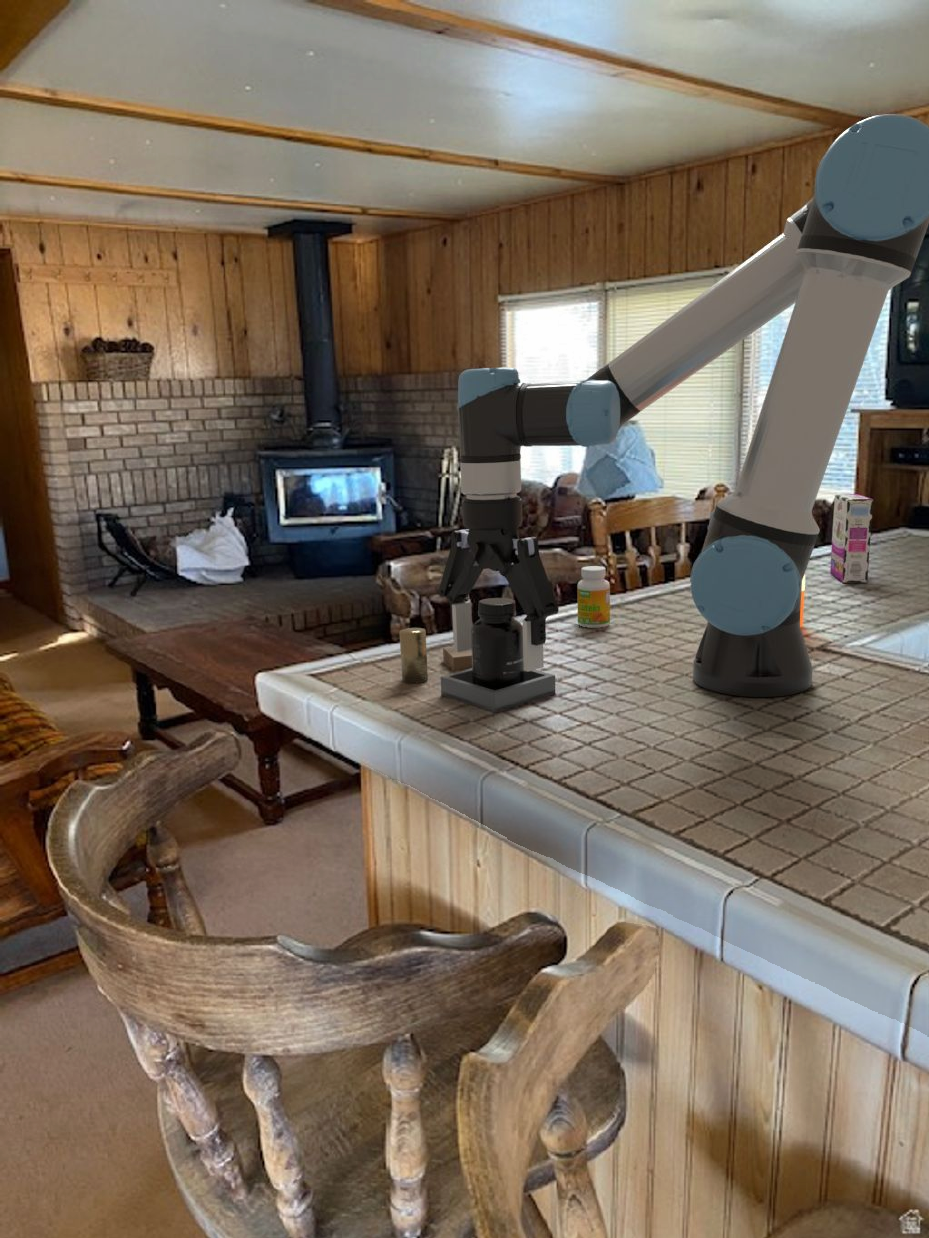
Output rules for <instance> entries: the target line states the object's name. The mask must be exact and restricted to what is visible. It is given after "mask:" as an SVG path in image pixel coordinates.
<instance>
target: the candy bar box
mask: <svg viewBox="0 0 929 1238" xmlns="http://www.w3.org/2000/svg"><path fill="white" fill-rule="evenodd" d="M833 504H834V505H833V517H832V518H833V519H832V536H831V537H832V538H831V549H830V550H831V552H830V567H829V568H830V569H829V570H830V572H829V574H830V575H832V577H834V578H836V579H837V580H838V581H840V582H841V583H843V584H867V583H868V581H869V580H868V579H869V565H870V564H869V563H870V551H871V538H872V537H871V536H872V524H873V523H872V521H873V509H874V499H873V498H870V497H867V496H864V495H861V494H858V493H857V494H855V493H845V494H844V493H842V494H841V493H840V494H839V493H838V494H837V493H836V494H834V501H833Z"/></svg>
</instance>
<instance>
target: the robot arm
mask: <svg viewBox="0 0 929 1238" xmlns="http://www.w3.org/2000/svg"><path fill="white" fill-rule="evenodd" d="M814 184H815V185H814V194H813V196H812V198H811V199H810V200H808V201H807V203H806V204H805V205H803V206H802V207H801V208H800V209H799V210H797V211H796V212H795V213H793V214H792V215H791V216H790V217H788V218H787V219H786V222H785V225H784V230H783V232H782V233H781V234H780V235H779V236H777V237H775V239H773V240H772V241H771V242H769V243H768V244H767V245H765V246H764V247H763V248H761V249H760V250H758V251H757V252H756V253H754V254H753V255H751V256H750V257H749V258H748V259H747V260H745V261H743V262H742V263H741V264H740V265H737V267H735V268H734V269H732V270H731V271H730V272H729V273H727V274H726V275H725V276H724V277H722V278H721V279H720V280H718V281H717V282H716V283H714V284H713V285H711V286H710V287H709V288H707V289H706V290H705V291H703V292H702V293H701V294H699V295H698V296H697V297H695V298H694V299H693V300H692V301H690V302H689V303H688V304H686V305H685V306H683V307H682V308H680V309H679V310H678V311H677V312H675V313H674V314H673V315H671V316H669V317H668V318H667V319H666V320H664V322H661V324H659V325H658V326H657V327H655V328H653V329H652V330H650V332H649V333H647V334H646V335H645V336H643V337H641V338H640V339H639V340H637V341H636V342H635V343H634V344H632V345H631V346H629V347H628V348H627V349H626V350H624V351H623V352H621V353H620V354H619V355H618V356H616V357H615V358H614V359H612V360H610V361H609V362H608V363H607V364H606V365H604V366H603V367H601V368H600V369H598V370H597V371H596V372H594V373H593V374H592V375H591V376H589V377H588V378H587V379H582V380H569V381H554V382H553V381H551V382H540V383H531V382H530V383H529V382H528V383H525V382H521V379H520V377H519V371H518V370H517V368H515V367H491V368H490V367H486V368H484V367H482V368H470V369H465V370H464V371H463V372H461V373H460V374H459V377H458V380H457V381H458V384H457V385H458V387H457V389H458V390H457V392H458V393H457V406H456V409H457V410H456V411H457V416H458V417H457V418H458V419H457V420H458V430H459V431H458V433H459V435H458V436H459V449H460V453H459V454H460V458H459V459H460V461H459V462H460V465H459V466H460V492H461V494H463V495H465V496H466V497H465V498H464V497H463V500H461V509H462V511H461V513H462V525H463V527H464V529H459V530H454V531H452V532H451V538H450V539H451V540H450V549H449V553H448V556H447V560H446V563H445V567H444V570H443V574H442V577H441V580H440V585H439V588H438V590H437V591H438V596H440V598H441V597H442V598H443V597H444V598H446V599H447V602H448V603H449V606H450V608H449V610H450V612H449V613H450V623H451V626H452V636H453V646H454V652H457V653H458V652H462V651H466V650H470V649H472V647H471V629H472V626H473V622H472V621H473V619H472V616H473V615H472V602H471V601H468V600H470V599H471V598H470V596H469V595H470V593H471V592H472V590H473V588H474V586H475V585H476V583H477V581H478V579H479V578H480V576H481V575H482V573H483V571H484V570H486V569H489V570H490V571H494V572H498V573H499V574H500V575H501V576H502V577H504V578H505V579H506V582H507V583H508V585H509V586H510V588H511V590H512V592H513V594H514V596H515V597H516V599H517V600H518V603H519V604H520V606H521V608H522V610H523V612H524V613H525V615H526V616H525V617H524V618H523V619H522V626H523V657H524V671H527V672H529V671H532V670H538V669H539V670H540V669H542V668H544V667H545V666H544V644H546V641H547V636H546V634H547V633H546V632H547V631H546V630H547V626H546V620H547V619H548V617H550V616H553V615H557V614H558V613H559V611H560V609H559V606H558V604H557V600H556V598H555V595H554V592H553V589H552V587H551V584H550V583H551V582H550V580H549V578H548V575H547V571H546V569H545V567H544V564H543V562H542V559H541V556H540V555H541V554H540V549H539V541H538V537H536V536H530V537H525V538H520V536H519V533H518V530H519V527H520V526H521V525H522V523H523V499H522V498H521V496H519V495H517V494H518V493H520V492H521V491H522V467H521V464H522V463H521V459H522V458H521V457H522V455H521V447H568V446H569V447H572V446H573V447H579V446H581V447H585V448H588V447H594V446H600V445H609V444H612V443H613V442H614V441H615V440H616V439H617V436H618V433H619V431H620V430H621V428H622V426H623V425H624V424H626V423H627V422H629V421H630V420H631V419H633V418H634V417H635V416H637V415H638V414H639V413H641V412H642V411H643V410H645V409H646V408H648V407H649V406H651V405H652V404H653V403H655V402H656V401H657V400H660V398H662V397H663V396H664V395H666V394H668V393H670V392H671V391H672V390H673V389H675V388H676V387H678V386H679V385H680V384H682V383H683V382H685V381H686V380H688V379H689V378H690V377H692V376H693V375H694V374H696V373H698V372H699V371H700V370H702V369H704V368H706V366H707V365H709V364H710V363H712V362H713V361H715V360H716V359H717V358H719V357H720V356H722V355H723V354H724V353H726V352H727V351H729V350H730V349H732V348H733V347H735V346H736V345H737V344H739V343H740V342H741V341H744V340H745V339H746V338H747V337H748V336H749V337H750V335H752V334H753V333H755V332H757V330H759V329H760V328H762V327H764V326H765V325H766V324H768V323H769V322H771V320H773V319H774V318H776V317H778V316H779V315H780V314H781V313H783V312H784V311H786V310H788V309H789V308H790V307H791V306H793V305H794V306H793V310H792V313H791V316H790V319H789V321H788V324H787V328H786V331H785V334H784V337H783V341H782V344H781V347H780V350H779V353H778V356H777V359H776V363H775V365H774V369H773V371H772V375H771V378H770V381H769V385H768V387H767V390H766V394H765V397H764V400H763V403H762V406H761V409H760V412H759V415H758V419H757V421H756V424H755V428H754V431H753V434H752V437H751V440H750V443H749V446H748V449H747V453H746V455H745V459H744V462H743V465H742V467H741V472H740V474H739V477H738V481H737V485H736V487H735V489H734V491H733V492H732V493H730V494H728V495H726V496H725V497H722V498H721V499H719V500H718V501H717V502H716V505H715V508H714V509H713V510H712V511H711V513H710V516H709V524H707V533H706V536H705V539H704V543H703V546H702V549H701V552H700V554H698V557H697V558H696V559H695V561H694V562H693V565H692V567H691V571H690V579H689V582H690V591H691V597H692V600H693V603H694V605H695V608H697V610H698V613H700V615H701V616H702V617H703V618H704V619H705V620H706V621H707V622H706V626H705V629H704V632H703V634H702V636H701V640H700V642H699V645H698V648H697V651H696V654H695V657H694V660H693V663H692V680H693V682H694V683H695V684H696V685H699V686H700V687H702V688H704V689H706V690H708V691H712V692H716V693H720V694H725V695H731V696H737V697H738V696H740V697H750V698H751V697H752V698H775V697H784V696H790V695H795V694H798V693H802V692H804V691H806V690H808V689H810V688H811V687H812V684H813V665H812V662H811V658H810V655H809V651H808V648H807V644H806V641H805V638H804V634H803V631H802V627H800V614H801V593H802V580H803V577H804V574H805V575H806V570H807V568H808V565H809V562H810V560H811V557H812V553H813V551H814V548H815V544H816V542H817V540H818V536H819V534H820V527H819V526H818V524H817V521H816V520H815V518H814V516H813V513H812V512H813V511H812V510H813V508H814V505H815V501H816V499H817V496H818V493H819V492H820V487H821V485H822V482H823V479H824V477H825V474H826V470H827V469H828V468H827V467H828V465H829V462H830V460H831V456H832V454H833V450H834V449H835V446H836V442H837V440H838V437H839V434H840V430H841V429H842V425H843V422H844V420H845V416H846V414H847V411H848V407H849V405H850V402H851V398H852V397H853V394H854V390H855V389H856V385H857V381H858V379H859V376H860V374H861V372H862V371H861V370H862V368H863V365H864V362H865V358H866V356H867V353H868V351H869V348H870V345H871V342H872V339H873V336H874V333H875V330H876V328H877V324H878V322H879V319H880V316H881V313H882V310H883V308H884V304H885V302H886V298H887V297H888V296H887V295H888V294H889V293H888V292H889V291H890V290H891V289H893V288H894V287H895V286H897V285H898V284H900V283H902V282H903V281H906V280H907V279H909V278H910V276H911V274H912V273H913V272H912V271H913V268H914V266H915V263H916V261H917V257H918V255H919V252H920V249H921V246H922V244H923V242H924V238H925V235H926V233H927V229H928V227H929V126H928V125H927V124H926V123H924V122H922V121H920V120H919V119H917V118H914V117H912V116H908V115H905V114H899V113H897V114H896V113H886V114H878V115H874V116H871V117H867V118H865V119H863V120H861V121H858V122H856V123H855V124H853V125H852V126H850V127H849V128H847V129H846V130H845V131H843V132H842V133H841V134H840V135H839V136H838V137H837V138H836V139H835V140H834V141H833V142H832V144H831V145H830V147H828V148H827V151H826V153H825V154H824V155H823V157H822V158H821V159H820V162H819V165H818V167H817V170H816V173H815V180H814Z"/></svg>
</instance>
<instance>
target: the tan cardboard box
mask: <svg viewBox="0 0 929 1238" xmlns="http://www.w3.org/2000/svg"><path fill="white" fill-rule="evenodd" d="M442 657H443V663H445V664H446V666H448V667H449V668H450V669H451V670H452V672H459V671H463V670H467V669H470V668H472V649H470V650H466V651H462V652H458V653H457V652H454V645H451V646H445V647H442Z"/></svg>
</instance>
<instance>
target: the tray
mask: <svg viewBox="0 0 929 1238" xmlns="http://www.w3.org/2000/svg"><path fill="white" fill-rule="evenodd" d="M440 690H441V691H440V693H441V696H444V697H447V698H450V699H453V700H455V701H457V702H458V701H459V702H462V703H464V704H465V703H466V704H468V705H471V706H474V707H477V708H480V709H482V710H486V711H489V712H492V713H498V712H502V711H505V710H508V709H511V708H514V707H518V706H521V705H523V704H527V703H530V702H533V701H536V700H540V699H542V698H545V697H549V696H551V695H554V694H556V675H555V674H552V673H549V672H545V671H542V670H538V669H536V670H532V671H529V672H527V671H524V682H522V683H519V684H515V685H512V686H509V687H505V688H502V689H499V690H491V689H488V688H485V687H482V686H478V685H475V684H472V668H470V669H467V670H463V671H455V672H453V673H449V674H446V675H441V676H440Z"/></svg>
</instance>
